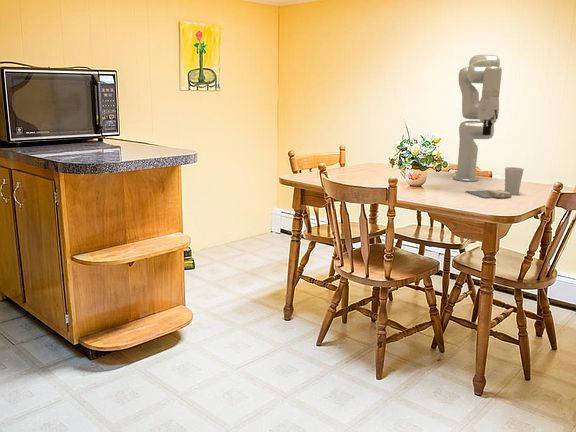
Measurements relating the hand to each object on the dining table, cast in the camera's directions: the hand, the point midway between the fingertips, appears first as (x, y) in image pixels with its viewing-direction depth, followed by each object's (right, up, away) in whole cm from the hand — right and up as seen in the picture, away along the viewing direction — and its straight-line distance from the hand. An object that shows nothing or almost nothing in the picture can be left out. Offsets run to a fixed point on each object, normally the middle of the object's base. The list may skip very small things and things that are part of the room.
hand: (486, 135), depth 247 cm
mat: (+1, -28, +1) cm, 28 cm away
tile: (+1, -27, -5) cm, 28 cm away
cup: (+13, -27, +4) cm, 31 cm away
